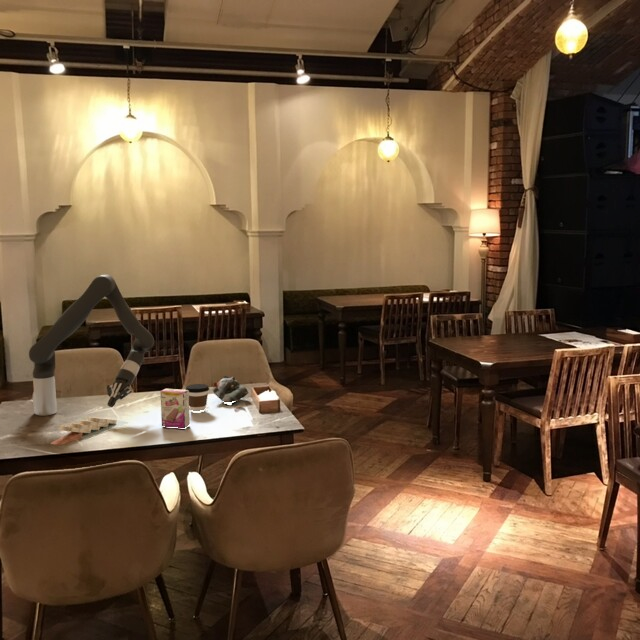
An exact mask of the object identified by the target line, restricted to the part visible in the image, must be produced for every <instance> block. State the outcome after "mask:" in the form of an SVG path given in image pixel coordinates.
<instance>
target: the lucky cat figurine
mask: <svg viewBox="0 0 640 640" xmlns="http://www.w3.org/2000/svg"><path fill="white" fill-rule="evenodd" d="M212 392H213V394H214V395H215V397H217V398H218V399H219V400H220V401H221V402H222V401H224V402H232V401H237V402H239V401H240V400H242V399H243V398H244V397H246V396H247V395H248V394H249V391H248V389H247V387H245V386H243V385H240V382H239V381H237V379H236V378H235V376H231V377H228V376H226V375H224V376H223V377H222V378H221V379H220V380H219V381H218V382H217V381H215V382H213V387H212Z"/></svg>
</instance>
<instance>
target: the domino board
mask: <svg viewBox="0 0 640 640" xmlns="http://www.w3.org/2000/svg"><path fill="white" fill-rule="evenodd" d="M111 419H112V418H111ZM112 420H114V419H112ZM116 420H117V422H116V424H111V423H108V427H101V426H99V427H100V428H99V430H91V432H90V433H82V437H80V438H79V439H82V440H88V439H90V438H92V437H96V436H97V435H100V434H103V433H105V432H108V431H110V430H113V429H116V428H118V427H122V426H124V425H126V424H129V423H130V421H125V420H118V419H116Z"/></svg>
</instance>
